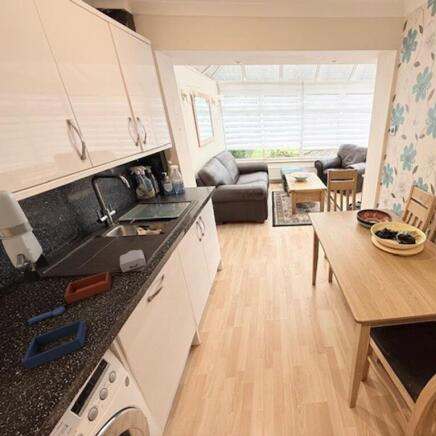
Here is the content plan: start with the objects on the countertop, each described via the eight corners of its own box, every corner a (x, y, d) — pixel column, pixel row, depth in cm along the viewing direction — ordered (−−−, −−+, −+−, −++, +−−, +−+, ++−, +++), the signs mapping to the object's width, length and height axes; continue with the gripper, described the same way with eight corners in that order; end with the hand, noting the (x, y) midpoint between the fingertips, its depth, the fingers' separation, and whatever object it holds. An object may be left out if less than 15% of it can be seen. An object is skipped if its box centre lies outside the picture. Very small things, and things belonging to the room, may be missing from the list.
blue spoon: (29, 327, 81) (26, 323, 81) (32, 320, 84) (30, 316, 83) (65, 314, 86) (63, 310, 85) (67, 307, 89) (65, 304, 88)
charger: (143, 251, 121) (146, 265, 110) (122, 258, 117) (123, 273, 106) (140, 243, 119) (143, 257, 108) (118, 250, 115) (119, 264, 104)
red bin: (69, 304, 90) (64, 296, 88) (73, 290, 97) (68, 283, 95) (110, 290, 96) (106, 282, 94) (111, 278, 103) (108, 270, 101)
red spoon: (76, 296, 93) (75, 293, 92) (78, 291, 96) (76, 288, 95) (106, 286, 97) (104, 283, 97) (107, 282, 100) (105, 279, 99)
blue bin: (29, 371, 67) (22, 362, 65) (39, 346, 74) (32, 337, 72) (83, 348, 72) (78, 339, 71) (87, 327, 80) (82, 318, 78)
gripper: (8, 223, 80) (33, 265, 87) (-16, 244, 67) (16, 292, 74) (38, 217, 84) (60, 258, 91) (21, 236, 70) (48, 282, 77)
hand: (40, 273), depth 82 cm, fingers open, 9 cm apart
